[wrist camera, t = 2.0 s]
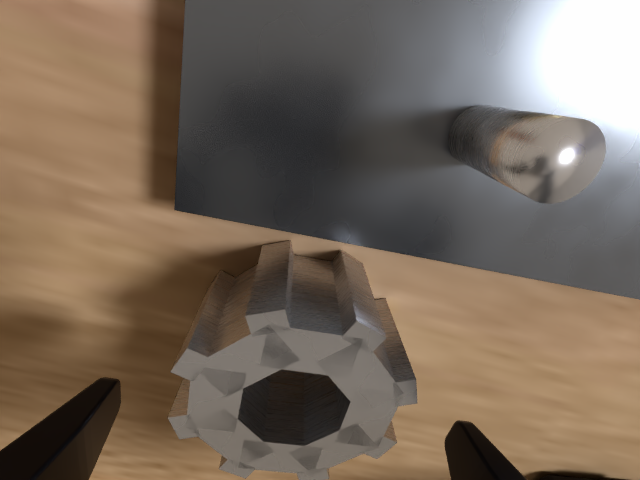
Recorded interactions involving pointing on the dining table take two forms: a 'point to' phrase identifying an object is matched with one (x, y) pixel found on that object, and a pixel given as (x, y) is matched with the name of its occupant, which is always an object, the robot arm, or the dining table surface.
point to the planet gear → (292, 367)
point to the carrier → (423, 129)
